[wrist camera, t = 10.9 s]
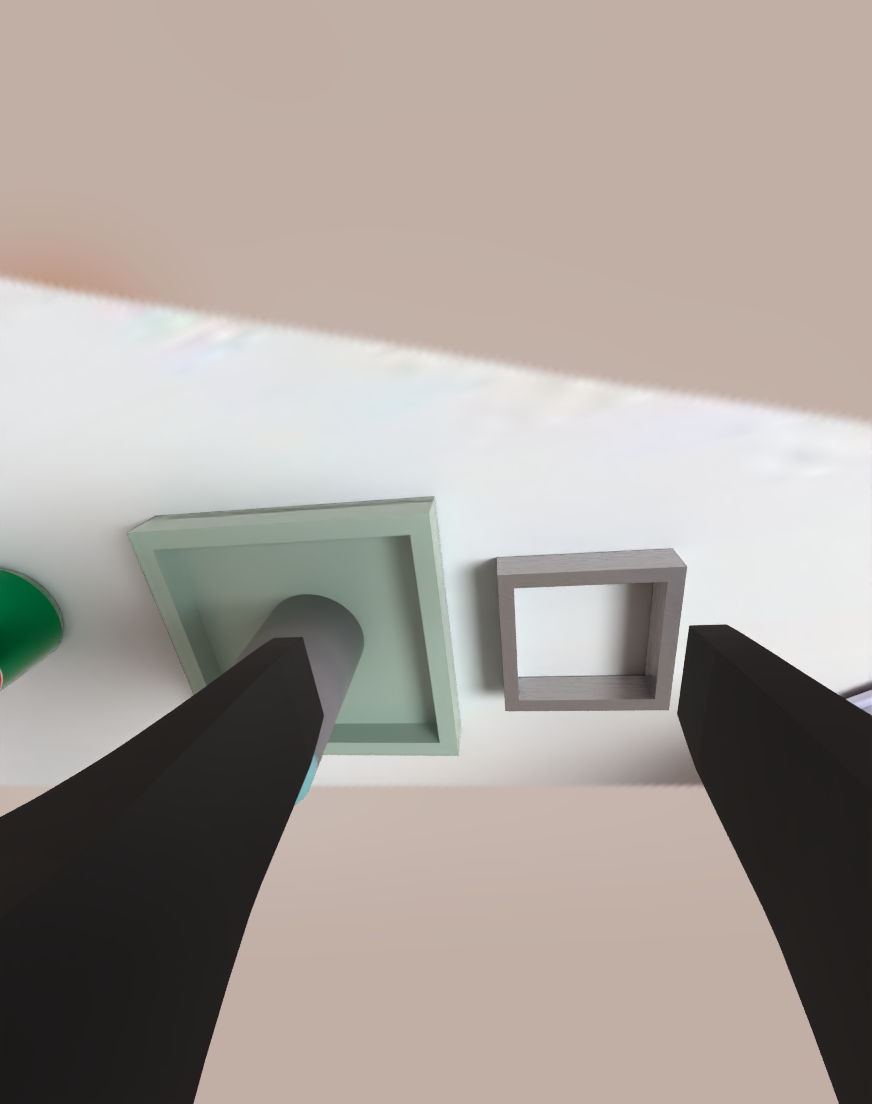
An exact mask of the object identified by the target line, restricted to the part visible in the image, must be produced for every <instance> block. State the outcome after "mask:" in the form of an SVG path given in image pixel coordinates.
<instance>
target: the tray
mask: <svg viewBox="0 0 872 1104" xmlns="http://www.w3.org/2000/svg"><path fill="white" fill-rule="evenodd" d="M127 534H128V537H129V539H130V541H131V544H132V546H133V549H134V551H135V553H136V556H137V558H138V561H139V563H140V566H141V568H142V570H143V573H144V575H145V578H146V580H147V582H148V585H149V587H150V590H151V592H152V595H153V597H154V599H155V602H156V604H157V607H158V609H159V611H160V614H161V616H162V619H163V621H164V624H165V626H166V628H167V631H168V633H169V636H170V638H171V640H172V643H173V645H174V648H175V650H176V653H177V655H178V657H179V660H180V662H181V665H182V667H183V669H184V672H185V674H186V677H187V679H188V682H189V684H190V686H191V689H192V691H193V694H194V695H195V694H196V693H197V692H199V691H200V690H202V689H203V688H204V687H206V686H207V685H208V684H210V683H211V682H212V681H214V680H215V679H217V678H218V677H219V676H221V675H222V674H223V673H225V672H226V671H227V670H229V669H230V667H231V666H232V665H233V663H234V662H235V661H236V659H237V658H238V657H239V655H240V654H241V653H242V651H243V650H244V649H245V647H246V646H247V645H248V643H249V642H250V641H251V639H252V638H253V637H254V635H255V634H256V633H257V631H258V630H259V629H260V627H261V626H262V625H263V623H264V622H265V621H266V619H267V618H268V617H269V615H270V614H271V613H272V611H273V610H274V609H275V608H276V606H277V605H278V604H280V603H281V602H282V601H284V600H285V599H287V598H290V597H292V596H296V595H302V594H313V595H320V596H324V597H327V598H330V599H332V600H334V601H336V602H338V603H339V604H341V605H343V606H344V607H345V608H346V609H348V610H349V611H350V612H351V613H352V614H353V615H354V617H355V618H356V619H357V621H358V622H359V624H360V626H361V629H362V632H363V635H364V649H363V652H362V655H361V658H360V660H359V663H358V665H357V668H356V670H355V673H354V676H353V678H352V681H351V683H350V686H349V688H348V691H347V694H346V696H345V699H344V701H343V704H342V706H341V709H340V712H339V714H338V717H337V719H336V722H335V725H334V727H333V730H332V732H331V735H330V737H329V740H328V743H327V745H326V748H325V750H324V753H323V755H427V756H459V746H460V733H461V722H460V713H459V705H458V696H457V687H456V679H455V670H454V661H453V653H452V644H451V635H450V627H449V618H448V609H447V600H446V592H445V583H444V574H443V566H442V557H441V548H440V540H439V531H438V522H437V514H436V505H435V497H420V498H406V499H392V500H377V501H363V502H349V503H334V504H320V505H306V506H291V507H277V508H263V509H248V510H234V511H220V512H205V513H191V514H177V515H162V516H155V517H153V518H151V519H150V520H148V521H146V522H144V523H143V524H141V525H139V526H138V527H136V528H134V529H132V530H131V531H129V532H127Z"/></svg>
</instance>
